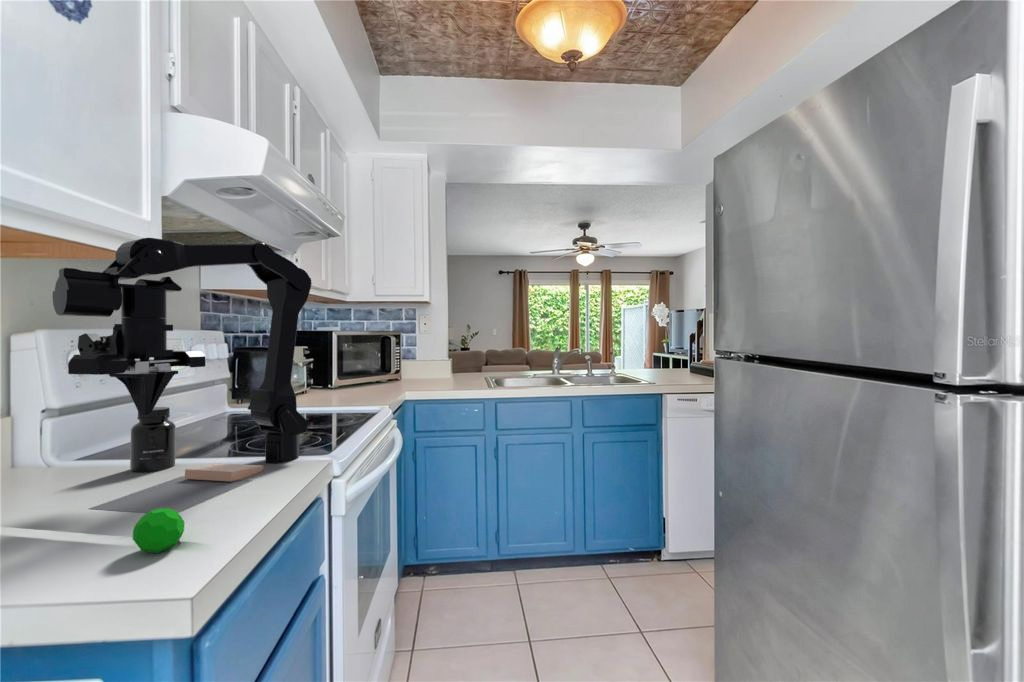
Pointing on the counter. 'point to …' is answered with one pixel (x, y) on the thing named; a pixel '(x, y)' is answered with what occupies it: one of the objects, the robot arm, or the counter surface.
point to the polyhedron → (158, 530)
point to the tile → (222, 472)
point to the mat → (171, 495)
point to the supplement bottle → (153, 442)
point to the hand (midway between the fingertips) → (144, 415)
